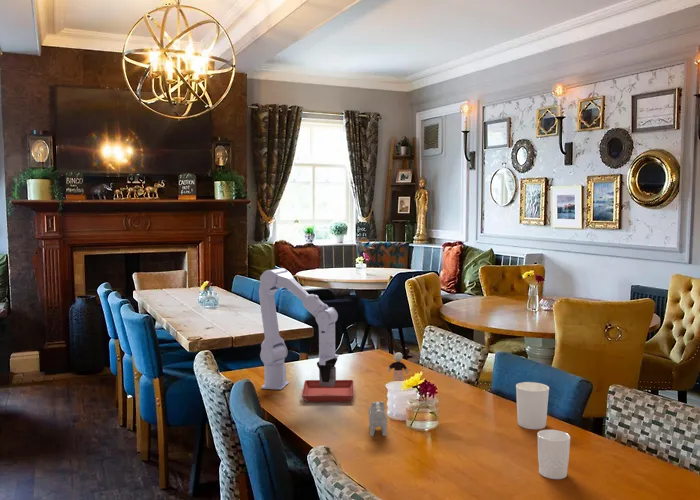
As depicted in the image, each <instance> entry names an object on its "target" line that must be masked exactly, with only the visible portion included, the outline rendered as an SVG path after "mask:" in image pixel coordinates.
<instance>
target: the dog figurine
mask: <svg viewBox="0 0 700 500" xmlns="http://www.w3.org/2000/svg"><path fill="white" fill-rule="evenodd" d="M385 410H386V405H385V403H384V401H382V400H381V401H376V402H375V401H372V402H371V404H370V407H369V408H368V422H369V424H368V426H369V427H368V428H369V436H370V437H374V436H375V432H376V431H375V430H376V428H378V427H380V428H381V432H382V433H381V434H382V436H383V437H385V436H386V437H387V435H388V434H387V432H388V431H387V428H388V427H387V426H388V416H387V413H386V411H385Z"/></svg>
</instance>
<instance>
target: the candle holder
mask: <svg viewBox="0 0 700 500" xmlns="http://www.w3.org/2000/svg"><path fill="white" fill-rule="evenodd" d="M515 389H516V391H515V392H516V393H515V394H516V395H515V397H516V413H517V414H516V416H517V425H518V426H519V427H521V428H523V429H529V430H543V429H545V427H546V426H547V420H548V419H547V416H548V406H549V405H548V403H549V394H550V393H549V392H550V387H549V386H548V385H547V384H544V383H542V382H541V383H540V382H535V381H523V382H518V383H516V384H515Z"/></svg>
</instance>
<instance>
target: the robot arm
mask: <svg viewBox="0 0 700 500" xmlns="http://www.w3.org/2000/svg"><path fill="white" fill-rule="evenodd" d="M259 281H260V282H259V288H258V297H259V305H260V313H261V319H262V327H263V333H264V334H263V335H264V339H263V341H262V342H261V344H260V348H261V349H260V353H259V357H260V360H261V362H262V363H263V365H264V384H263V385H261V387H260V389H265V390H283V389H284V388H285V387H286V386H287V385H288V384H289V383H290V381H287V380H288V379H287V364H286V363H285V361H286V360H285V359H286V358H287V356H288V353H289V352H288V348H287V346H286V343H285V339H284V338H283V337H281V335H280V329H279V322H278V315H277V309H276V308H277V307H276V301H275V299H276V298H275V294H276V292H278V290H279V289H287V290H288V291H289V292H290V293H292V294H293V295H294V296H295V297H297V298H298V299H299V300H301V301H302V307H304V309H305V310H307V311H308V312H309V313H310V314H311V315H312V316H313V317H314V318H315V322H316V323H317V326H318V361H317V362H316V366H317V368H318V371H319V370H320V373H321V377H322V381H323V382H329V379H330V372H331V368H332V367H336V363H337V362H338V358H339V355H340V354H336V322H337V321H338V318H339V314H338V312H337V310H336V309H335V307H332V306H331V307H330V306H329V305H328V304H327V303H324V302H323V301H322V300H321V299H320V298H319V295H317V294H314V293H310V294H309V293H308V292H307V290H305V288H303V286H302V285H301V284H300V283H299V282H298V281H297V280H296V279H295V278H294V277H293V275H292V273H291V272H290V271H288V270H287V269H286V268H284V267H280V268H276V269H275V268H274V269H267V270H265V271H263V272H262V273H261V275H260V276H259Z"/></svg>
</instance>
